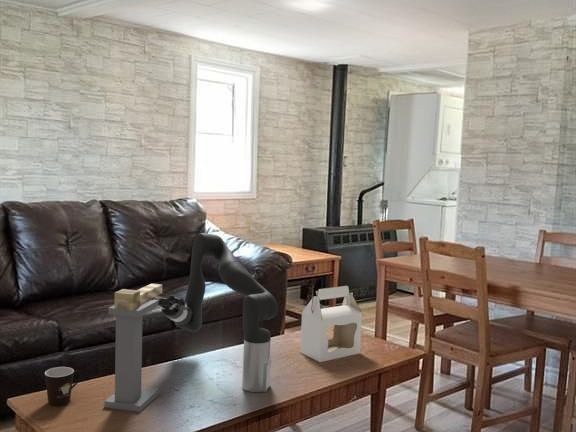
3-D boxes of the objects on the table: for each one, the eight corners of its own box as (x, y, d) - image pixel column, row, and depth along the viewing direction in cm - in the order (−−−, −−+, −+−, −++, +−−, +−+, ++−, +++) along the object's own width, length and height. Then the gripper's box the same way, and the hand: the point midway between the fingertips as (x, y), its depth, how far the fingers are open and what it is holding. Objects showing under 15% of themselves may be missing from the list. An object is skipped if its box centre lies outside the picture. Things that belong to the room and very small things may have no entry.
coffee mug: (45, 409, 180) (46, 378, 179) (43, 399, 187) (43, 368, 186) (85, 403, 185) (85, 373, 184) (81, 393, 193) (81, 364, 192)
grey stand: (158, 394, 195) (160, 300, 191) (139, 412, 181) (141, 311, 178) (125, 390, 197) (127, 297, 194) (104, 407, 183) (105, 307, 180)
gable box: (339, 344, 256) (343, 281, 253) (360, 353, 245) (364, 288, 242) (299, 352, 243) (302, 286, 240) (319, 362, 232) (322, 293, 229)
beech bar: (148, 291, 203) (149, 277, 202) (164, 293, 202) (165, 279, 201) (114, 308, 180) (114, 292, 179) (132, 310, 178) (132, 294, 178)
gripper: (159, 298, 222) (142, 284, 207) (194, 301, 219) (180, 288, 204) (154, 317, 219) (137, 305, 204) (190, 321, 216) (175, 308, 201)
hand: (159, 296), depth 204 cm, fingers open, 8 cm apart
